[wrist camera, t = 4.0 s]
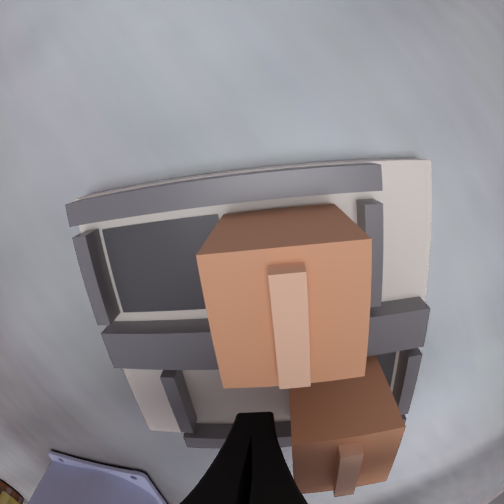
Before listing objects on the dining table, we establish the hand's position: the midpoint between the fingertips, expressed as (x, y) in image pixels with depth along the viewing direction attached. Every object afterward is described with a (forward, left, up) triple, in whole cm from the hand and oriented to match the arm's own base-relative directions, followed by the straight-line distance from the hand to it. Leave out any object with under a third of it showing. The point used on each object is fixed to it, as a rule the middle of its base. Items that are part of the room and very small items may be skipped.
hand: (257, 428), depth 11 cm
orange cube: (+3, 0, -2) cm, 4 cm away
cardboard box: (+1, +6, -2) cm, 6 cm away
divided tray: (0, +3, -3) cm, 5 cm away
